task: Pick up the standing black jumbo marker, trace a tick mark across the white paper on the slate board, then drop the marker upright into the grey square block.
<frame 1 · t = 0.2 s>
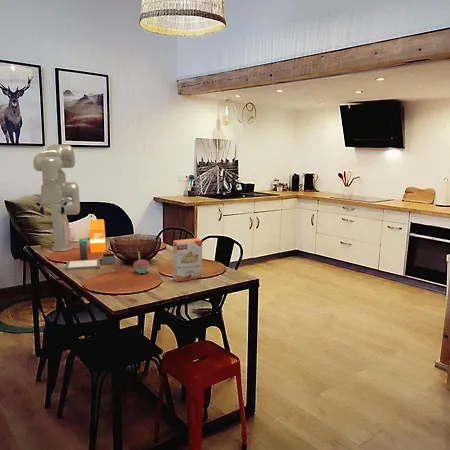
hand: (52, 214, 230), 31 cm above the table, tool pointing down, fingers open, 9 cm apart
writing board: (83, 265, 246), on the table
cupcake: (141, 272, 235), on the table
grey square block: (108, 262, 251), on the table
cracker box: (187, 279, 226), on the table
orange juice: (98, 250, 276), on the table
marker: (83, 259, 257), on the table
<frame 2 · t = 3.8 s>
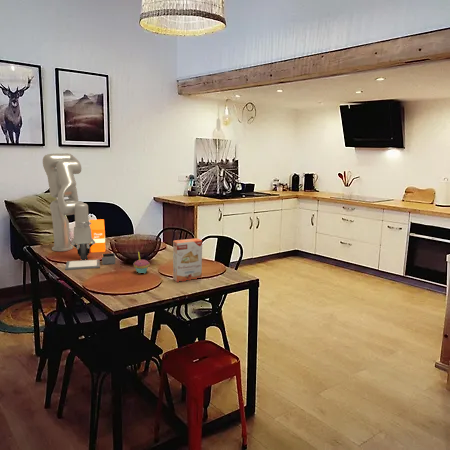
hand: (83, 254, 257), 3 cm above the table, tool pointing down, fingers closed on marker, 3 cm apart
marker: (83, 259, 257), on the table, touching gripper
everything else where it was.
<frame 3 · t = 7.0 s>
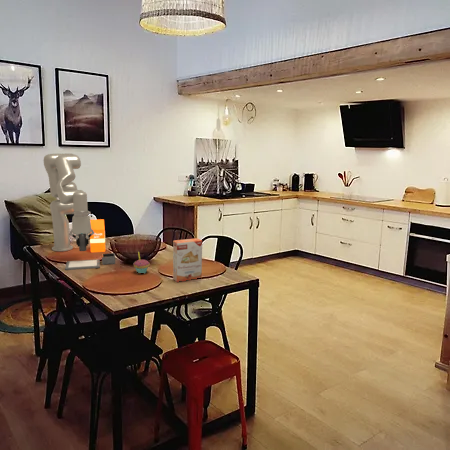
hand: (82, 245, 247), 11 cm above the table, tool pointing down, fingers closed on marker, 3 cm apart
marker: (83, 250, 248), point 8 cm above the table, touching gripper
everything else where it was.
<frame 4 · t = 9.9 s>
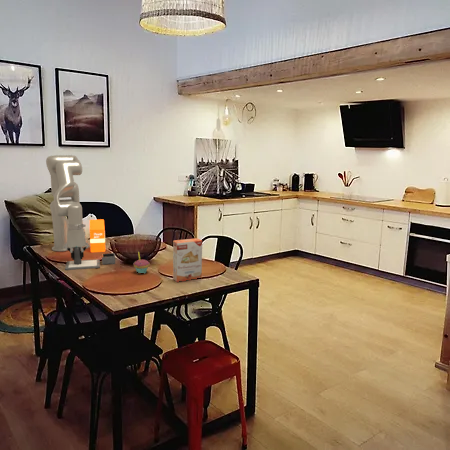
hand: (77, 258, 245), 4 cm above the table, tool pointing down, fingers closed on marker, 3 cm apart
marker: (77, 263, 245), point 1 cm above the table, touching gripper
everything else where it was.
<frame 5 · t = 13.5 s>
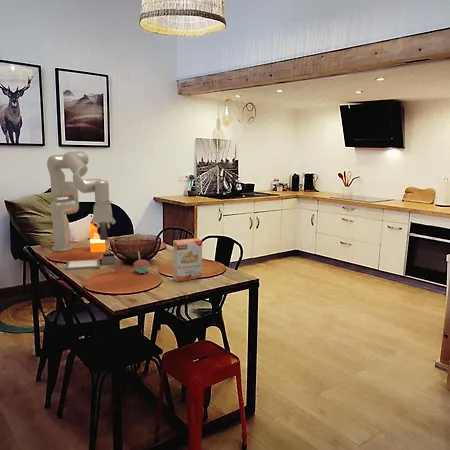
hand: (103, 234, 246), 17 cm above the table, tool pointing down, fingers closed on marker, 3 cm apart
marker: (103, 239, 246), point 14 cm above the table, touching gripper
everything else where it was.
when the fingers open (5 cm above the table, at t = 16.4 s): marker drops 1 cm, resting on grey square block.
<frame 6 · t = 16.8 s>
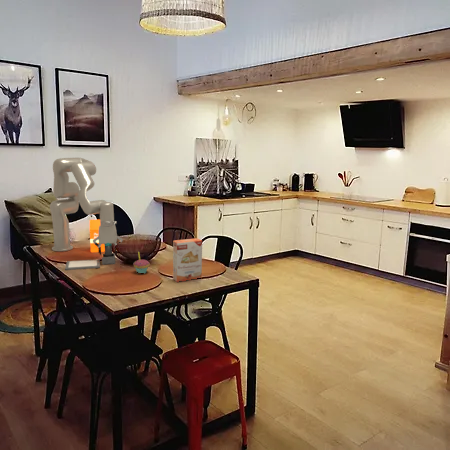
hand: (108, 253, 250), 6 cm above the table, tool pointing down, fingers open, 8 cm apart
marker: (108, 261, 251), point 1 cm above the table, touching grey square block
everything else where it was.
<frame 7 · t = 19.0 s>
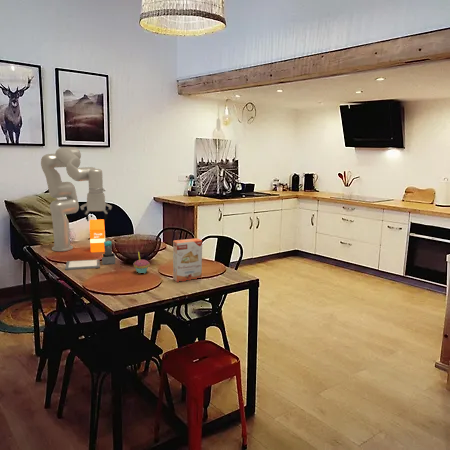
hand: (96, 220, 249), 24 cm above the table, tool pointing down, fingers open, 9 cm apart
nothing on the table moved.
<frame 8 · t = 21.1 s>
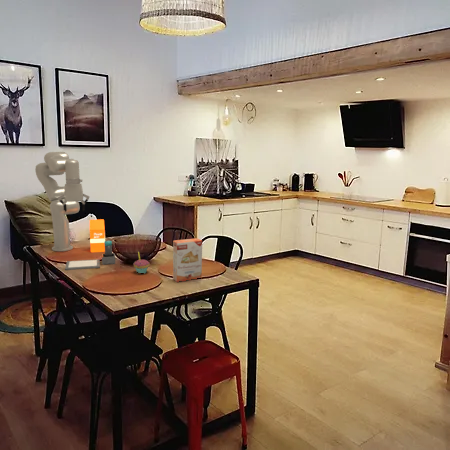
hand: (74, 211, 254), 28 cm above the table, tool pointing down, fingers open, 9 cm apart
nothing on the table moved.
at the end: marker 0.1 cm off-centre on the grey square block, point 0.6 cm above the grey square block's base; marker tilted 2°; the gripper is holding nothing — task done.
